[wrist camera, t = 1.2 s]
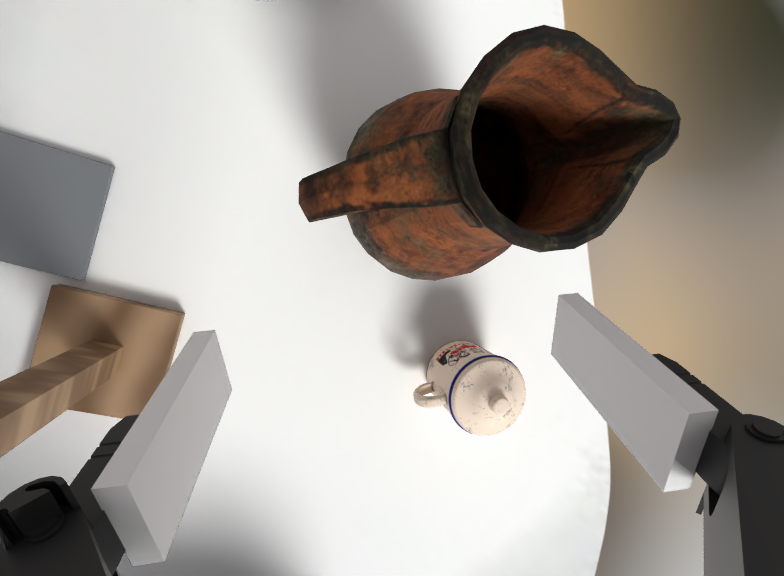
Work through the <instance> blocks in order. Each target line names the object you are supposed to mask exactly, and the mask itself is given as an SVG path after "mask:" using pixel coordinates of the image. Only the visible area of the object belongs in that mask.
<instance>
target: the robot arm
mask: <svg viewBox="0 0 784 576" xmlns="http://www.w3.org/2000/svg"><path fill="white" fill-rule="evenodd" d="M551 354H552V356H553V357H554V358H555V359H556V361H557V362H558V363H559V364H560V366H561V367H562V368H563V369H564V370H565V372H566V373H567V374H568V375H569V377H570V378H571V379H572V380H573V382H574V383H575V384H576V385H577V386H578V388H579V389H580V390H581V391H582V393H583V394H584V395H585V396H586V398H587V399H588V400H589V401H590V402H591V404H592V405H593V406H594V407H595V409H596V410H597V411H598V412H599V414H600V415H601V416H602V417H603V418H604V420H605V421H606V422H607V423H608V425H609V426H610V427H611V428H612V430H613V431H614V432H615V433H616V434H617V436H618V437H619V438H620V439H621V441H622V442H623V443H624V444H625V445H626V447H627V448H628V449H629V450H630V452H631V453H632V454H633V455H634V457H635V458H636V459H637V460H638V461H639V463H640V464H641V465H642V466H643V468H644V469H645V470H646V471H647V473H648V474H649V475H650V476H651V477H652V479H653V480H654V481H655V482H656V484H657V485H658V486H659V487H660V489H661V490H662V491H663V492H667V491H674V490H682V489H688V488H690V487H691V484H692V481H693V478H694V476H695V473H696V472H697V473H698V474H699V476H700V477H701V478H702V479H703V480H704V481H705V482H706V483H707V485H706V488H705V490H704V493H703V496H702V498H701V501H700V504H699V506H698V508H697V511H696V513H698V514H701V513H702V511H703V509H704V576H784V426H783V425H781V424H779V423H777V422H775V421H773V420H770V419H767V418H765V417H762V416H757V415H751V414H742V413H740V412H739V411H738V410H736V409H735V408H734V407H733V406H731V405H730V404H729V403H728V402H726V401H725V400H724V399H722V398H721V397H720V396H718V395H717V394H716V393H715V392H714V391H712V390H711V389H710V388H709V387H707V386H706V385H705V384H702V383H701V381H700V380H698V379H697V378H696V377H695V376H693V375H690V373H689V372H688V371H687V370H686V369H684V368H683V367H682V366H681V365H679V364H678V363H677V362H675V361H673V360H671V359H669V358H667V357H665V356H663V355H661V354H653V355H652V354H650V353H649V352H648V351H647V350H646V349H644V348H643V347H642V346H641V345H640V344H638V343H637V342H636V341H635V340H633V339H632V338H631V337H630V336H629V335H627V334H626V333H625V332H624V331H622V330H621V329H620V328H619V327H618V326H617V325H615V324H614V323H613V322H612V321H611V320H609V319H608V318H607V317H605V316H604V315H603V314H602V313H601V312H600V311H598V310H597V309H596V308H595V307H594V306H592V305H591V304H590V303H589V302H588V301H586V300H585V299H584V298H583V297H582V296H580V295H579V294H578V293H574V294H564V295H559V296H558V304H557V312H556V319H555V327H554V334H553V342H552V350H551ZM231 391H232V388H231V384H230V381H229V377H228V374H227V370H226V367H225V363H224V360H223V356H222V353H221V349H220V346H219V342H218V339H217V335H216V332H215V330H211V331H201V332H194V333H193V334H192V336H191V337H190V339H189V340H188V342H187V343H186V345H185V346H184V348H183V349H182V351H181V352H180V354H179V355H178V357H177V358H176V360H175V362H174V363H173V365H172V366H171V368H170V369H169V371H168V372H167V374H166V375H165V377H164V378H163V380H162V381H161V383H160V384H159V386H158V387H157V389H156V391H155V392H154V394H153V395H152V397H151V398H150V400H149V401H148V403H147V404H146V406H145V407H144V409H143V410H142V412H141V413H140V414H139V415H130V416H126V417H124V418H123V419H122V420H121V421H120V422H118V423H117V424H116V425H115V426H114V427H112V428H111V429H110V430H109V432H108V433H107V434H106V436H105V437H104V439H103V440H102V441H101V443H100V446H99V447H97V448H96V450H95V451H94V453H93V454H92V455H91V459H89V460H88V461H87V462H86V464H85V465H84V467H83V468H82V469H81V471H80V472H79V474H78V475H77V476H76V478H75V479H74V481H73V482H72V483H71V485H70V486H68V484H67V482H66V481H65V480H64V479H63V478H62V477H56V476H49V477H44V478H39V479H37V480H34V481H32V482H29V483H27V484H25V485H23V486H21V487H20V488H18V489H16V490H15V491H13V492H12V493H10V494H9V495H8V496H6V497H5V498H4V499H3V500H2V501H1V502H0V576H120V574H119V573H118V571H117V569H116V568H117V566H118V564H119V562H120V560H121V558H122V556H123V554H124V552H125V553H126V555H127V557H128V559H129V561H130V563H131V564H132V566H139V565H146V564H153V563H160V562H165V559H166V557H167V554H168V552H169V549H170V547H171V544H172V542H173V539H174V536H175V534H176V531H177V529H178V526H179V524H180V521H181V519H182V516H183V513H184V511H185V508H186V506H187V503H188V501H189V498H190V496H191V493H192V491H193V488H194V485H195V483H196V480H197V478H198V475H199V473H200V470H201V468H202V465H203V462H204V460H205V457H206V455H207V452H208V450H209V447H210V445H211V442H212V440H213V437H214V434H215V432H216V429H217V427H218V424H219V422H220V419H221V417H222V414H223V411H224V409H225V406H226V404H227V401H228V399H229V396H230V394H231Z"/></svg>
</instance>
